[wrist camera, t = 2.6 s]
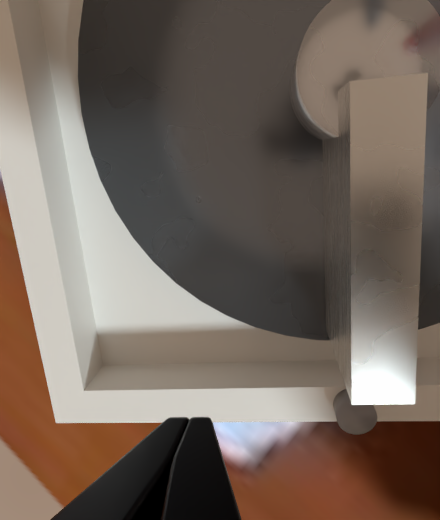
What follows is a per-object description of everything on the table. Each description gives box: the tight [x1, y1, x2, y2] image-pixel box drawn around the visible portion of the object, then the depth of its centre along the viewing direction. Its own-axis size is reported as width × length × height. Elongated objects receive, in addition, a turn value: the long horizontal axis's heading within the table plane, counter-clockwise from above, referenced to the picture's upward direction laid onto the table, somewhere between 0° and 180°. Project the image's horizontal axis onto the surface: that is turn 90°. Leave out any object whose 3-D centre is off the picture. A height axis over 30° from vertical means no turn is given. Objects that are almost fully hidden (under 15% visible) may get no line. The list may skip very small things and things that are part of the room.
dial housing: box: [0, 0, 440, 435], centre depth 13 cm, size 24×24×4 cm
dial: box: [78, 0, 440, 405], centre depth 11 cm, size 18×18×6 cm
